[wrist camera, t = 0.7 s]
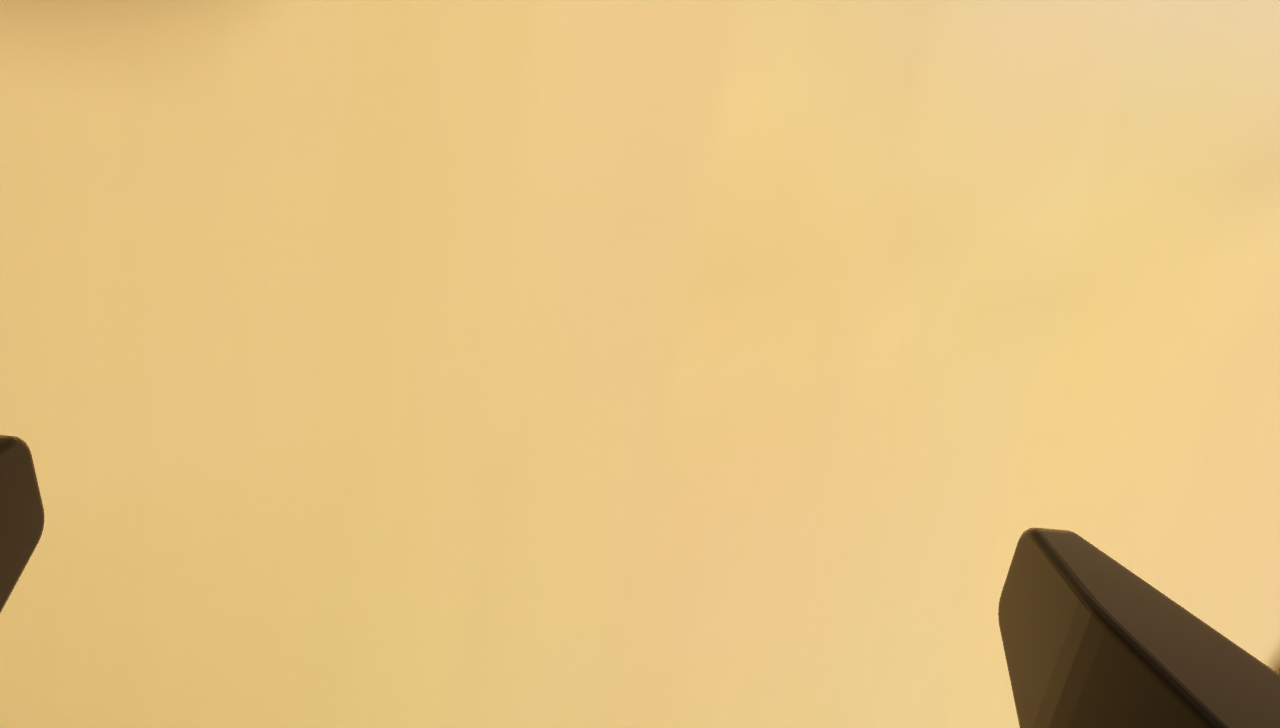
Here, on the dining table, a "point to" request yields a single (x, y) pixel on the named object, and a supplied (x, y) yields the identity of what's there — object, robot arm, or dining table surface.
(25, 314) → the dining table surface
